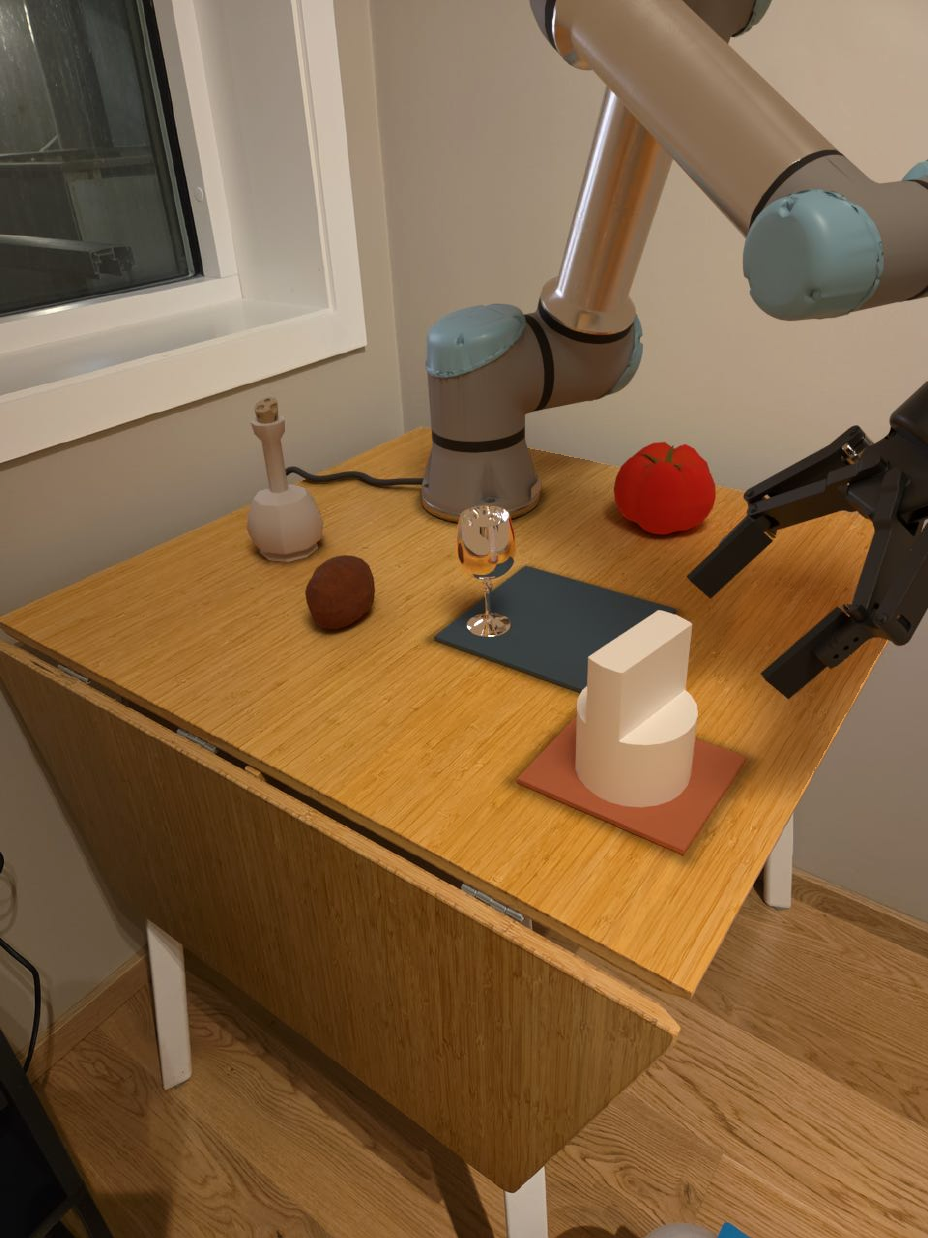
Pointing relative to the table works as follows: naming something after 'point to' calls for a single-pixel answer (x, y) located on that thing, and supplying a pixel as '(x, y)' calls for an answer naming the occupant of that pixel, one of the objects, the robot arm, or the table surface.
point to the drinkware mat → (550, 625)
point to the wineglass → (486, 559)
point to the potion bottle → (280, 498)
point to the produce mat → (655, 823)
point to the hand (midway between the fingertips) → (732, 633)
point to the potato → (340, 591)
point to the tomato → (665, 488)
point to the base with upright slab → (638, 715)
